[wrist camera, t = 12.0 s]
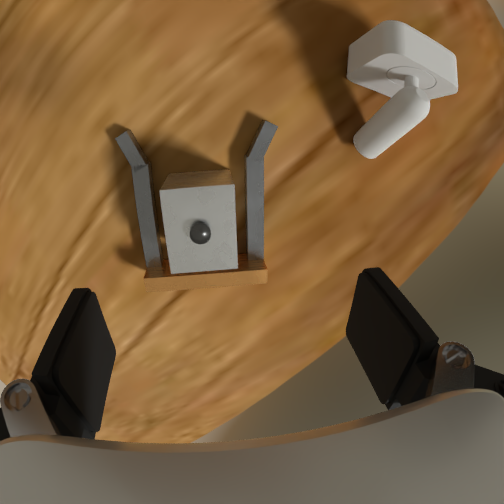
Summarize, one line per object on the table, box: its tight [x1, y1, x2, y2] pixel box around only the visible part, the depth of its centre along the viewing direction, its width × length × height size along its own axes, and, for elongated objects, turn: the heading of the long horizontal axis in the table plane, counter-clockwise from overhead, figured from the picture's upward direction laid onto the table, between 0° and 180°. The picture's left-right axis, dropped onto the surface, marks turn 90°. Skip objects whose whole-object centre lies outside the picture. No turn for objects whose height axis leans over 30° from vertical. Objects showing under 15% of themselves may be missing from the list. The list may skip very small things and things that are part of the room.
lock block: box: [159, 169, 238, 274], centre depth 25 cm, size 7×6×7 cm
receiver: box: [115, 120, 278, 292], centre depth 26 cm, size 15×14×4 cm
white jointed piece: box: [347, 20, 458, 159], centre depth 21 cm, size 8×10×10 cm
